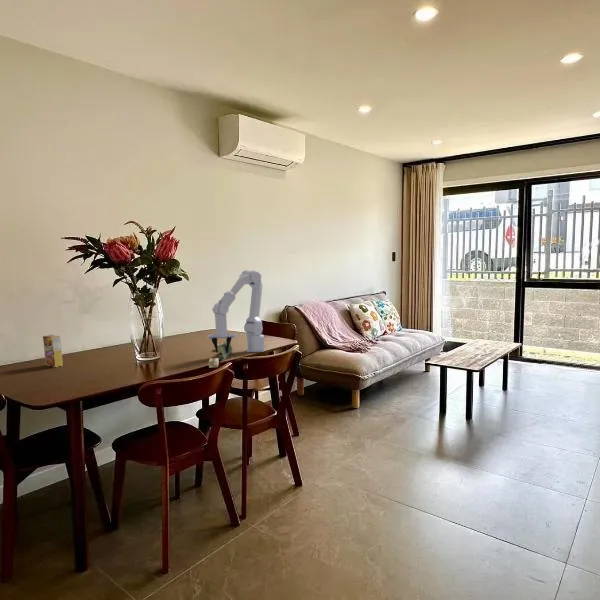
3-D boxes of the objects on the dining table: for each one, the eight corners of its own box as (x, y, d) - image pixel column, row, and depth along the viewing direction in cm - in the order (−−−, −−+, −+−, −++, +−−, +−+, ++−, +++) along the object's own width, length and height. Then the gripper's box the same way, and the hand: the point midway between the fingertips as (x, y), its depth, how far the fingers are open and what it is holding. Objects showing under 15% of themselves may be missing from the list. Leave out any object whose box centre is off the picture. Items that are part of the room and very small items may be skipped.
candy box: (44, 366, 228) (42, 335, 226) (53, 364, 231) (50, 334, 230) (54, 368, 223) (52, 337, 221) (63, 366, 226) (60, 335, 225)
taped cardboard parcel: (224, 348, 258) (223, 343, 258) (217, 367, 216) (217, 360, 216) (216, 348, 258) (216, 343, 257) (209, 367, 216) (208, 361, 216)
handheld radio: (234, 350, 250) (223, 361, 225) (228, 352, 250) (217, 363, 225) (230, 339, 249) (219, 349, 224) (224, 340, 249) (213, 351, 225)
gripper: (206, 328, 231) (207, 354, 232) (234, 326, 232) (236, 353, 234) (207, 325, 238) (208, 351, 239) (235, 324, 239) (236, 350, 241)
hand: (222, 352), depth 237 cm, fingers open, 5 cm apart
